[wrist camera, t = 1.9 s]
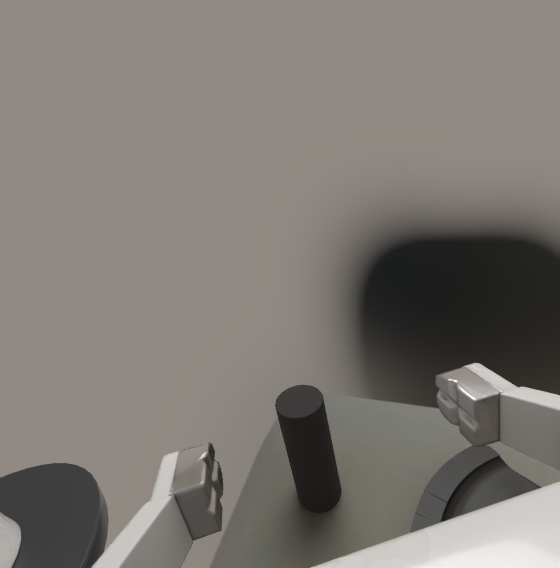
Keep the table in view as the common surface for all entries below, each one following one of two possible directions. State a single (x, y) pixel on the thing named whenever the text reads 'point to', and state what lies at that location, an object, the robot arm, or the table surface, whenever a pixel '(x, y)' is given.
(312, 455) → the dark cylindrical post
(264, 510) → the table surface
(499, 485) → the dark sector wedge
